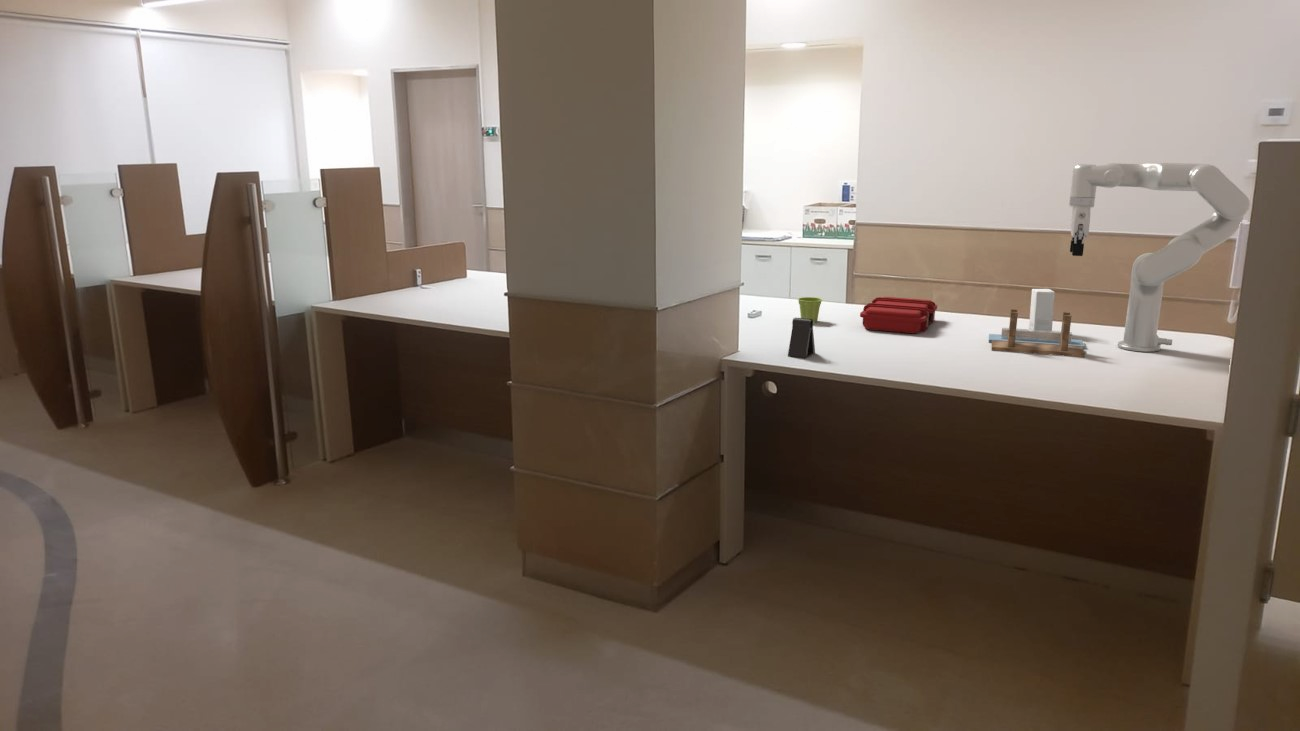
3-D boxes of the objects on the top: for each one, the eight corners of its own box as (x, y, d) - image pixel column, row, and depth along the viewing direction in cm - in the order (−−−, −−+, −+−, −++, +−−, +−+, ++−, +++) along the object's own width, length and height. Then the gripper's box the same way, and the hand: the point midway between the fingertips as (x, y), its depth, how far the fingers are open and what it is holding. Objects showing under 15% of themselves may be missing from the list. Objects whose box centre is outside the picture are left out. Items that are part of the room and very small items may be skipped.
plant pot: (791, 320, 347) (792, 298, 345) (811, 318, 352) (812, 296, 349) (806, 324, 339) (807, 302, 337) (826, 322, 344) (827, 299, 341)
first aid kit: (877, 315, 358) (878, 294, 355) (937, 320, 347) (939, 298, 345) (857, 330, 330) (858, 307, 328) (922, 336, 320) (924, 313, 318)
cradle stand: (1081, 350, 297) (1086, 312, 294) (1084, 357, 288) (1089, 318, 285) (991, 343, 307) (995, 307, 303) (991, 350, 298) (995, 312, 294)
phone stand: (805, 358, 288) (806, 321, 285) (787, 356, 291) (788, 320, 288) (815, 353, 295) (816, 317, 292) (798, 350, 298) (799, 315, 295)
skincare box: (1051, 335, 319) (1056, 292, 315) (1031, 334, 321) (1036, 291, 317) (1046, 330, 327) (1051, 288, 323) (1027, 330, 328) (1031, 287, 325)
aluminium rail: (1070, 341, 306) (1071, 332, 305) (1071, 343, 303) (1072, 334, 302) (1001, 336, 313) (1002, 327, 312) (1001, 338, 310) (1002, 329, 309)
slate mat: (1082, 342, 308) (1082, 340, 307) (1084, 349, 299) (1084, 346, 298) (988, 336, 318) (989, 333, 318) (988, 342, 309) (988, 339, 309)
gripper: (1097, 204, 288) (1090, 257, 293) (1091, 200, 304) (1086, 251, 308) (1071, 204, 291) (1065, 256, 295) (1067, 200, 307) (1062, 250, 311)
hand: (1076, 254), depth 302 cm, fingers open, 9 cm apart
